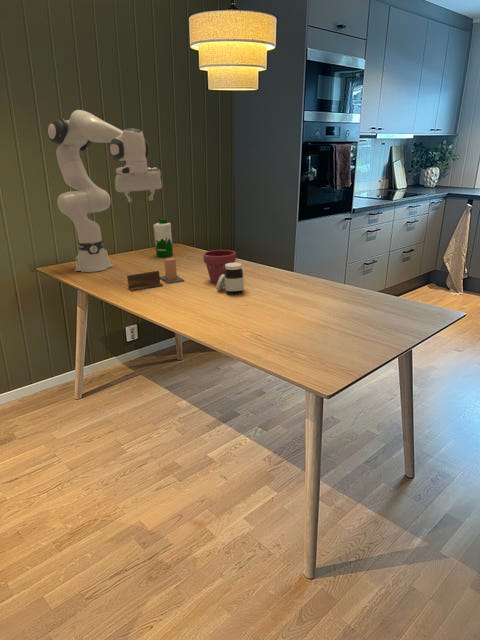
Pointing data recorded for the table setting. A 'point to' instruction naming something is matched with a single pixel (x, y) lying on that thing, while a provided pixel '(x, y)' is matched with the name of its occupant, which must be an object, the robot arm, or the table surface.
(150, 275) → the brown wooden stand
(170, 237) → the milk carton
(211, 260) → the plant pot
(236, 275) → the spread jar
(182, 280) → the charcoal mat
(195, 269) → the table surface
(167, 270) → the terracotta block
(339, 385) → the table surface
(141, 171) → the robot arm
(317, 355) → the table surface
